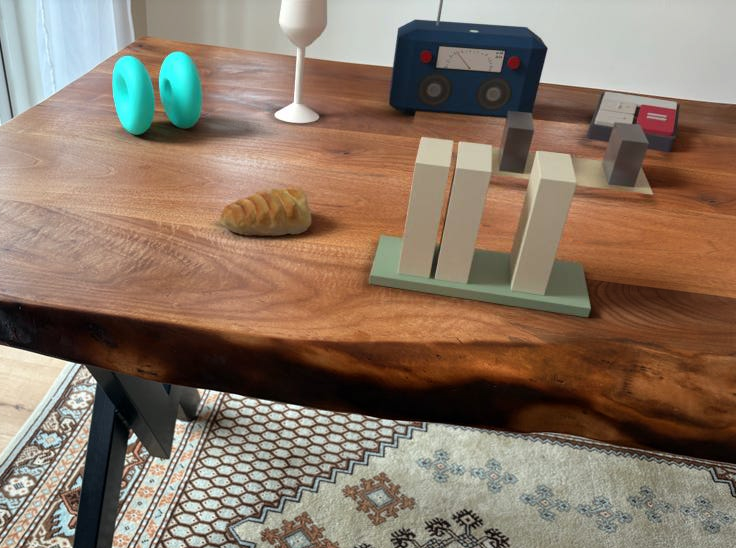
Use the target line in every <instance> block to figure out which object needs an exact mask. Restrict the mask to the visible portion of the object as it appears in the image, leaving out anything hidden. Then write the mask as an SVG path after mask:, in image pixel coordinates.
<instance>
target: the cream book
mask: <svg viewBox="0 0 736 548" xmlns="http://www.w3.org/2000/svg"><path fill="white" fill-rule="evenodd" d="M535 153H536V155H535V159H534V163H533V167H532V171H531V175H530V179H528V183H527V186H526V191H525V195H524V199H523V202H522V207H521V209H520V215H519V219H518V223H517V226H516V230H515V234H514V238H513V242H512V247H511V251H510V253H511V254H510V277H511V291H517V292H523V293H530V294H537V295H545V291H546V288H547V285H548V281H549V278H550V274H551V271H552V267H553V264H554V260H556V257H557V254H558V250H559V246H560V243H561V241H562V240H561V239H562V236H563V233H564V230H565V226H566V223H567V219H568V216H569V212H570V209H571V206H572V202H573V198H574V195H575V193H576V192H575V191H576V188H577V186H578V185H577V180H576V176H575V172H574V168H573V163H572V159H571V157H572V156H571V154H570V153H562V152H553V151H544V150H536V151H535Z"/></svg>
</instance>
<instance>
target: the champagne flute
mask: <svg viewBox="0 0 736 548" xmlns="http://www.w3.org/2000/svg"><path fill="white" fill-rule="evenodd" d="M278 17H279V18H278V23H279V26H280V29H281V31H282V32H283V34H284V36H285V37H286V38H287V39H288V40H289V41H290V43H291V44H292V45H293V46H295V47H296V60H295V61H296V63H295V77H294V78H295V79H294V80H295V81H294V94H293V102H292V103H290V104H288V105H286V106H285V107H283V108H281V109H279V110H277V111H276V112H275V113H274V117H275V118H276V119H277V120H280V121H283V122H286V123H293V124H307V123H313V122H316V121H318V120H319V119H320V115H319V114H318V113H317V112H316V111H314V110H313V109H311V108H310V107H308V106H307V105H305V104H304V103H303V91H304V76H305V74H304V73H305V62H306V48H308V47H309V46H311V45H312V44H313V43H314V42H315V41H317V39H319V37H321V36H322V34H323V33H324V32H325V30H326V28H327V26H328V0H281V3H280V9H279V16H278Z"/></svg>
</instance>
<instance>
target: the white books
mask: <svg viewBox="0 0 736 548" xmlns="http://www.w3.org/2000/svg"><path fill="white" fill-rule="evenodd" d="M454 142H455V141H454V140H452V139H445V138H444V139H443V138H434V137H426V136H421V137H420V141H419V145H418V149H417V154H416V158H415V162H414V169H413V173H412V174H413V175H412V181H411V189H410V193H409V200H408V206H407V213H406V219H405V224H404V230H403V237H397V236H390V235H385V234H381V235H380V237H379V241H378V244H377V245H378V246H377V248H376V252H375V256H374V258H373V263H372V267H371V269H370V273H369V279H368V284H369V285H372V286H373V285H374V286H381V287H388V288H392V289H393V288H394V289H399V290H407V291H413V292H419V293H426V294H432V295H439V296H444V297H445V296H446V297H451V298H458V299H464V300H465V299H466V300H470V301H471V300H472V301H478V302H484V303H490V304H496V305H497V304H498V305H502V306H503V305H504V306H511V307H517V308H523V309H530V310H536V311H542V312H549V313H555V314H562V315H568V316H576V317H581V318H582V317H583V318H589V315H590V313H591V310H592V308H591V302H590V297H589V296H590V295H589V291H588V285H587V282H586V277H585V276H586V275H585V271H584V266H583V263H581V262H574V261H567V260H559V259H555V260H554V264H553V267H552V271H551V274H550V278H549V281H548V285H547V288H546V291H545V295H537V294H530V293H523V292H517V291H511V277H510V254H511V252H505V251H504V252H503V251H498V250H497V251H496V250H490V249H483V248H476V245H477V241H478V237H479V232H480V227H481V222H482V219H483V215H484V214H483V213H484V210H485V205H486V200H487V196H488V192H489V187H490V182H491V179H492V175H491V174H492V148H493V144H485V143H477V142H470V141H469V142H468V141H462V140H461V141H458V146H457V151H456V156H455V161H454V167H453V173H452V176H451V177H452V178H451V183H450V188H449V194H448V199H447V203H446V209H445V214H444V219H443V224H442V230H441V235H440V240H439V242H437V240H438V234H439V230H440V223H441V218H442V214H443V209H444V208H443V207H444V202H445V197H446V192H447V188H448V187H447V186H448V182H449V177H450V171H451V165H452V157H453V149H454Z"/></svg>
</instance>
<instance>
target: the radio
mask: <svg viewBox="0 0 736 548" xmlns="http://www.w3.org/2000/svg"><path fill="white" fill-rule="evenodd" d="M443 4H444V0H439V6H438V12H437V17H436V20H429V19H413V20H411V21H409V22H407V23H405V24H403V25H401V26H400V27H398V28H397V34H396V41H395V48H394V56H393V63H392V71H391V78H390V84H389V92H388V93H389V99H388V102H389V106H391V107H392V108H393V109H395V110H396V111H397V112H399V113H400V114H401V115H403V116H413V117H415V116H416V113H417V112H425V113H436V114H439V113H440V114H449V115H450V114H452V115H461V116H462V115H464V116H477V117H479V116H480V117H489V118H500V119H506V117H507V112H508V111H516V112H526V113H532V114H533V112H534V111H533V110H534V107H535V103H536V98H537V95H538V90H539V87H540V82H541V77H542V74H543V70H544V66H545V61H546V59H547V58H546V57H547V54H548V49H549V48H548V46H547V45H546V44H545V42H544V40H543V39H542V38H541V37H540V36H539V35H537V34H536V33H535V32H534V31H532V30H531V29H530V28H529V27H527V26H516V25H501V24H486V23H474V22H473V23H472V22H460V21H459V22H457V21H444V20H441V16H442V10H443Z"/></svg>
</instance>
